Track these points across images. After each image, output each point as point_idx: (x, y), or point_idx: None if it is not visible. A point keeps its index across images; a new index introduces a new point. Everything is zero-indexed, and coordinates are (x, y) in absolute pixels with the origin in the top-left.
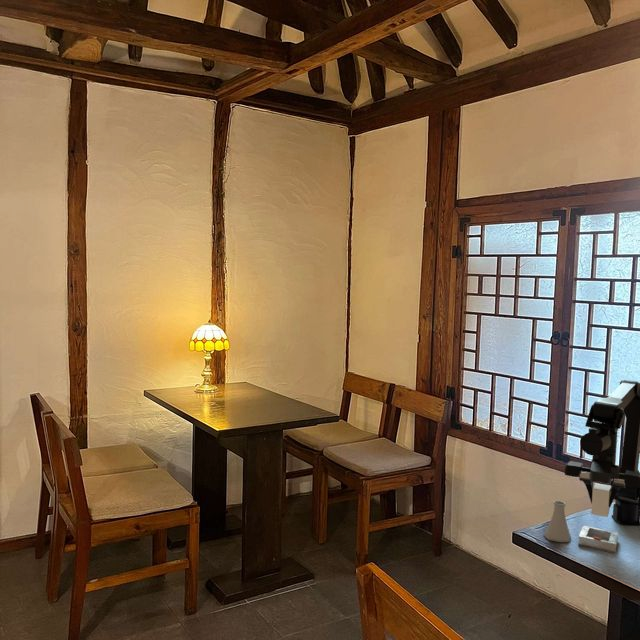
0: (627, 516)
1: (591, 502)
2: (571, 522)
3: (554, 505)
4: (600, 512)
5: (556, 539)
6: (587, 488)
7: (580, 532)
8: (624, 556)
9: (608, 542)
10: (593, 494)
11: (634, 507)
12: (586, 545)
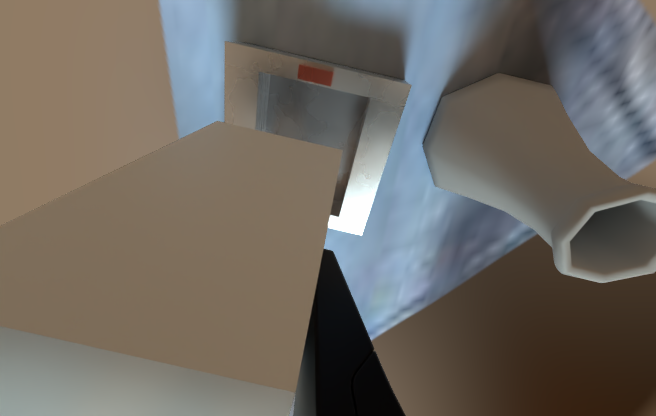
0: None
1: (331, 254)
2: (385, 298)
3: (648, 220)
4: (263, 142)
5: (517, 81)
6: (393, 412)
7: (390, 147)
8: (203, 21)
9: (259, 51)
10: (301, 264)
11: None
12: (368, 72)
